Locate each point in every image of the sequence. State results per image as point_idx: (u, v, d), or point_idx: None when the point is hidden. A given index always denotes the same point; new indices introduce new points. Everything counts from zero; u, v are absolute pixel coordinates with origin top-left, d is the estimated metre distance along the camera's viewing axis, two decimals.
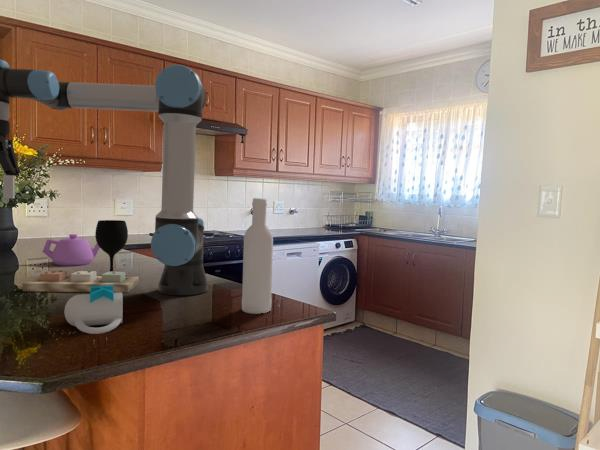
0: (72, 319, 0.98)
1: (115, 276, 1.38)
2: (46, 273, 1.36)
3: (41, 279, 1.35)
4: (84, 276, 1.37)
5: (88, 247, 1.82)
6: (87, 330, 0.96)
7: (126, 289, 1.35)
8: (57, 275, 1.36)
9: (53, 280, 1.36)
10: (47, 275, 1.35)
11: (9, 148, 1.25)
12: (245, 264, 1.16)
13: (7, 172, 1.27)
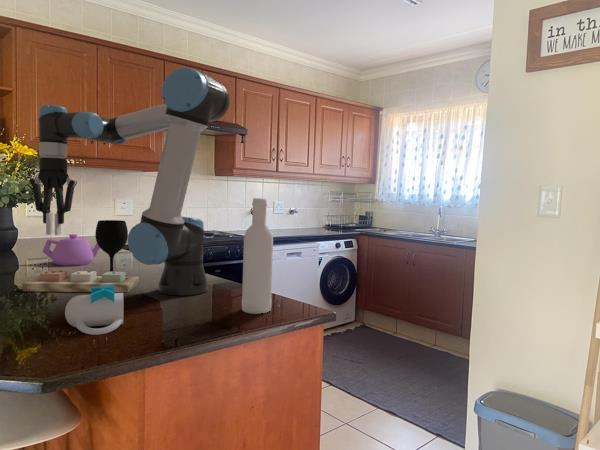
0: (73, 320, 0.97)
1: (115, 276, 1.38)
2: (46, 273, 1.36)
3: (41, 279, 1.35)
4: (84, 276, 1.37)
5: (88, 247, 1.82)
6: (88, 331, 0.95)
7: (126, 289, 1.35)
8: (57, 275, 1.36)
9: (53, 280, 1.36)
10: (47, 275, 1.35)
11: None
12: (245, 264, 1.16)
13: None
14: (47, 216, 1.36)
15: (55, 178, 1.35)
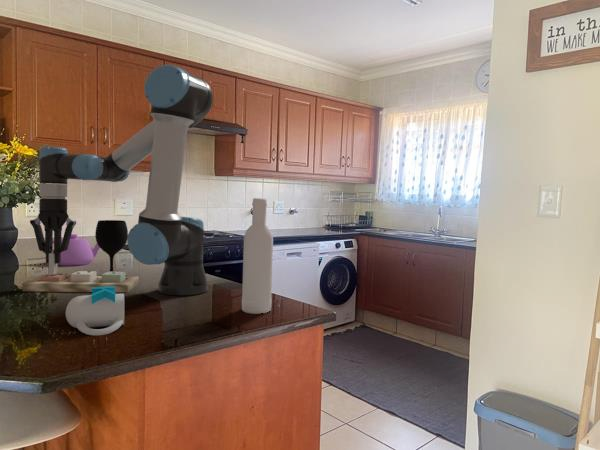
0: (74, 320, 0.96)
1: (115, 276, 1.38)
2: (46, 276, 1.36)
3: None
4: (84, 276, 1.37)
5: (88, 247, 1.82)
6: (89, 332, 0.95)
7: (126, 289, 1.35)
8: (57, 278, 1.36)
9: None
10: (47, 278, 1.36)
11: None
12: (245, 264, 1.16)
13: None
14: (50, 256, 1.37)
15: (55, 219, 1.35)
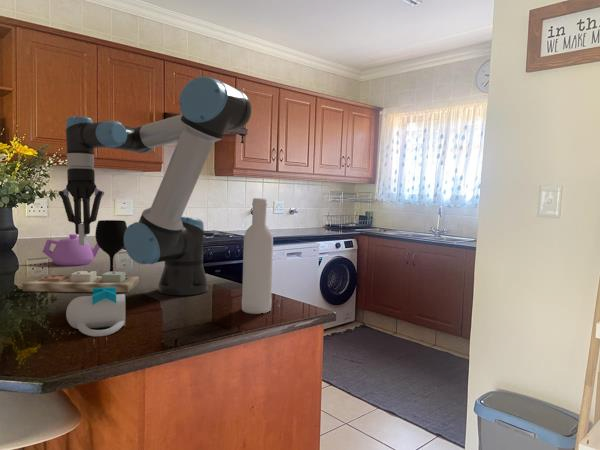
0: (74, 321, 0.96)
1: (115, 276, 1.38)
2: (46, 277, 1.36)
3: None
4: (84, 276, 1.37)
5: (88, 247, 1.82)
6: (89, 333, 0.94)
7: (126, 289, 1.35)
8: (57, 279, 1.36)
9: None
10: (47, 279, 1.36)
11: None
12: (245, 264, 1.16)
13: None
14: (79, 227, 1.36)
15: (84, 189, 1.35)
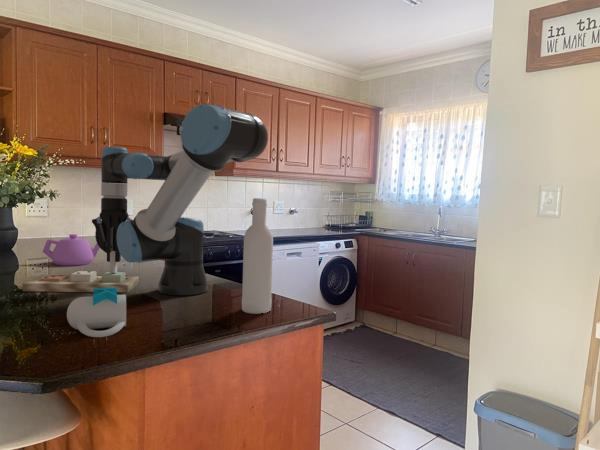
0: (75, 322, 0.95)
1: (115, 276, 1.38)
2: (46, 277, 1.36)
3: None
4: (84, 276, 1.37)
5: (88, 247, 1.82)
6: (90, 333, 0.93)
7: (126, 289, 1.35)
8: (57, 279, 1.36)
9: None
10: (47, 279, 1.36)
11: None
12: (245, 264, 1.16)
13: None
14: (111, 255, 1.39)
15: (116, 218, 1.37)
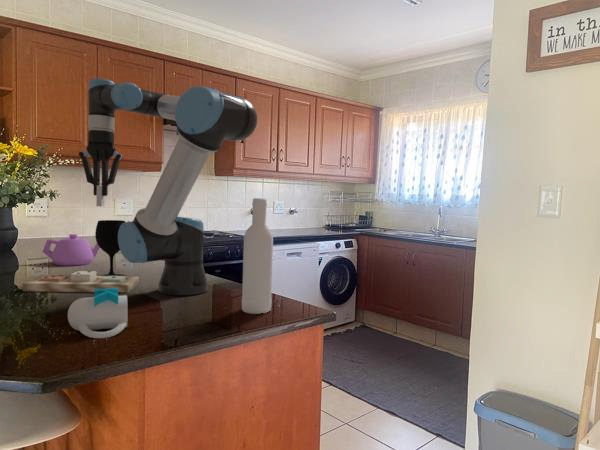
0: (76, 323, 0.95)
1: (115, 280, 1.38)
2: (46, 277, 1.36)
3: None
4: (84, 276, 1.37)
5: (88, 247, 1.82)
6: (91, 334, 0.93)
7: (126, 289, 1.35)
8: (57, 279, 1.36)
9: None
10: (47, 279, 1.36)
11: None
12: (245, 264, 1.16)
13: None
14: (98, 188, 1.39)
15: (103, 151, 1.38)
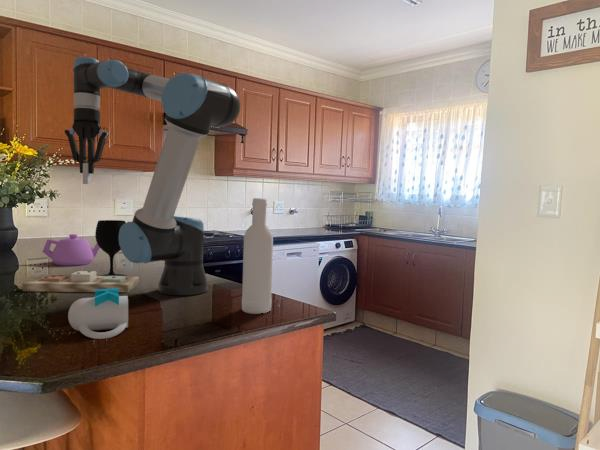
0: (77, 323, 0.94)
1: (115, 280, 1.38)
2: (46, 277, 1.36)
3: None
4: (84, 276, 1.37)
5: (88, 247, 1.82)
6: (92, 335, 0.92)
7: (126, 289, 1.35)
8: (57, 279, 1.36)
9: None
10: (47, 279, 1.36)
11: None
12: (245, 264, 1.16)
13: None
14: (84, 166, 1.40)
15: (89, 128, 1.39)
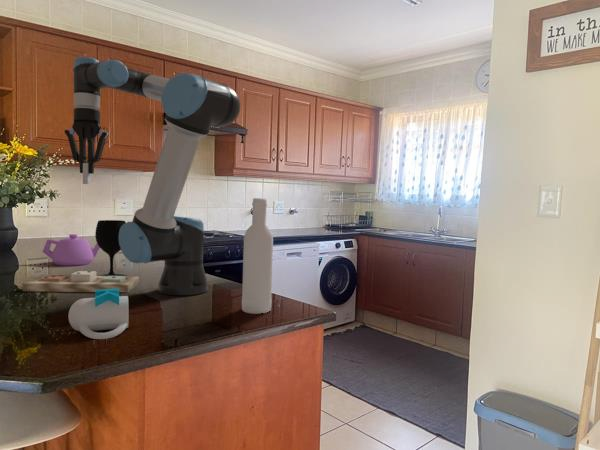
0: (77, 324, 0.94)
1: (115, 280, 1.38)
2: (46, 277, 1.36)
3: None
4: (84, 276, 1.37)
5: (88, 247, 1.82)
6: (92, 335, 0.92)
7: (126, 289, 1.35)
8: (57, 279, 1.36)
9: None
10: (47, 279, 1.36)
11: None
12: (245, 264, 1.16)
13: None
14: (84, 166, 1.40)
15: (89, 128, 1.39)
